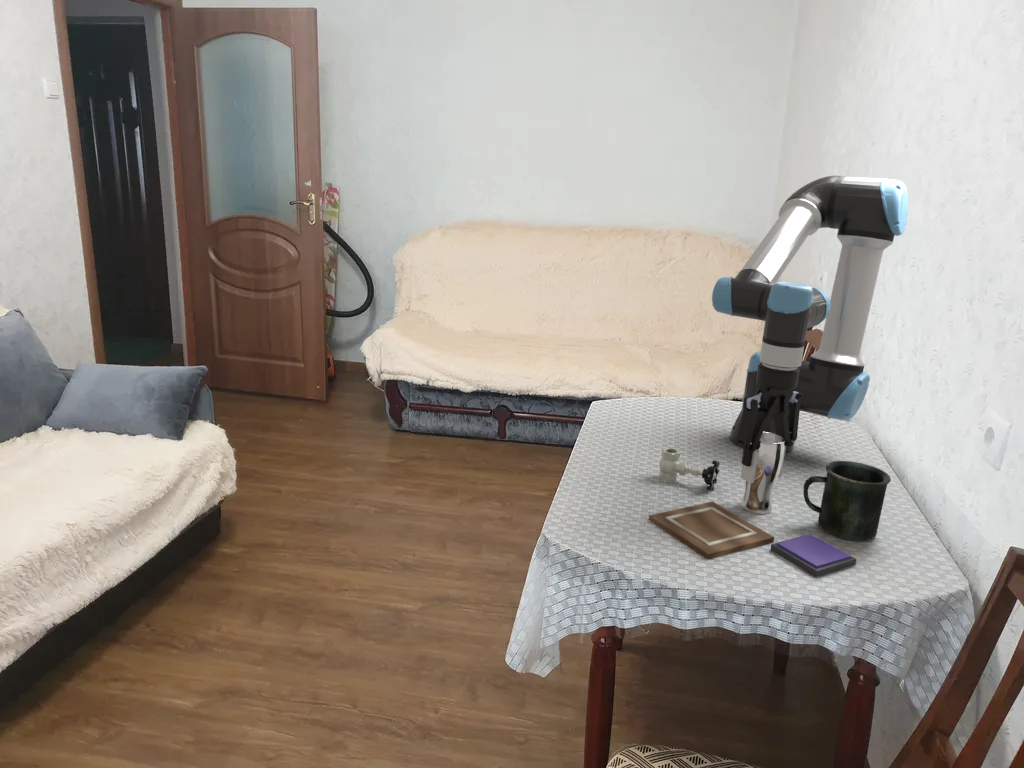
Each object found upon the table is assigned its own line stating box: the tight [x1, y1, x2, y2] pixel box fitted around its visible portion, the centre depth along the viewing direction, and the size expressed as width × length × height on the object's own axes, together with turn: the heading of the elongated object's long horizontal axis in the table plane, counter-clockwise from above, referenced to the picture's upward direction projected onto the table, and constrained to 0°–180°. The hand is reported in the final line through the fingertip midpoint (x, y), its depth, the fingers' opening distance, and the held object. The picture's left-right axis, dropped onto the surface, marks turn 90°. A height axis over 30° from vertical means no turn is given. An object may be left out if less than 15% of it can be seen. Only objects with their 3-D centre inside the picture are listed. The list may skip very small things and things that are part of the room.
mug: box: [803, 460, 892, 542], centre depth 146 cm, size 11×15×12 cm
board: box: [648, 501, 775, 560], centre depth 143 cm, size 16×16×1 cm
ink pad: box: [769, 533, 858, 578], centre depth 135 cm, size 10×10×2 cm
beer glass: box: [739, 432, 785, 515], centre depth 152 cm, size 7×7×15 cm
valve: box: [658, 447, 721, 492], centre depth 163 cm, size 7×7×12 cm
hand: (760, 477), depth 152 cm, fingers closed on beer glass, 7 cm apart
